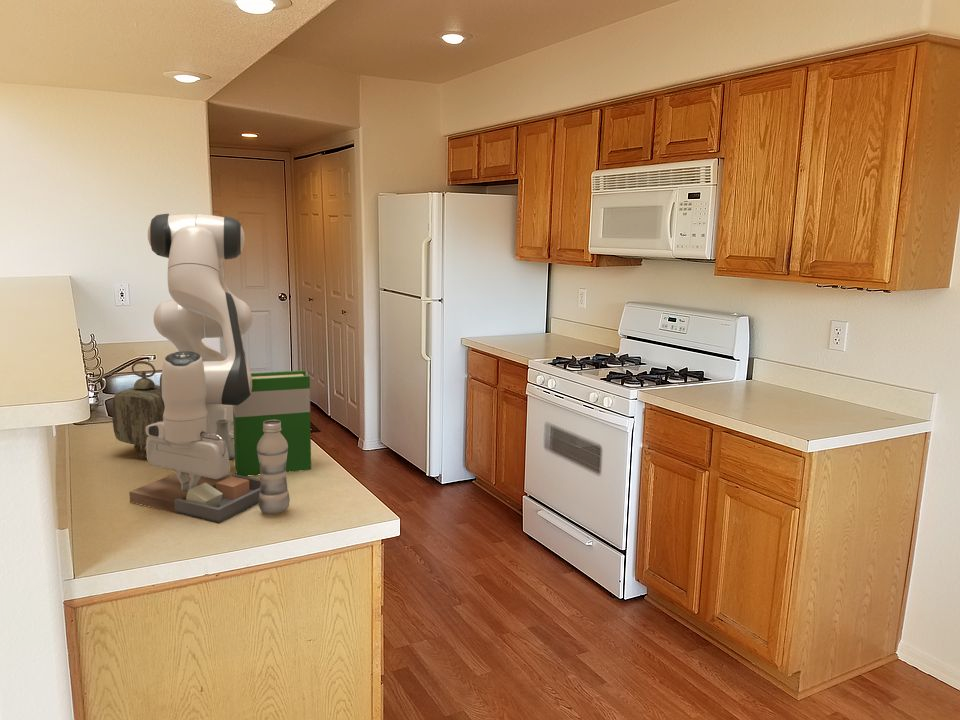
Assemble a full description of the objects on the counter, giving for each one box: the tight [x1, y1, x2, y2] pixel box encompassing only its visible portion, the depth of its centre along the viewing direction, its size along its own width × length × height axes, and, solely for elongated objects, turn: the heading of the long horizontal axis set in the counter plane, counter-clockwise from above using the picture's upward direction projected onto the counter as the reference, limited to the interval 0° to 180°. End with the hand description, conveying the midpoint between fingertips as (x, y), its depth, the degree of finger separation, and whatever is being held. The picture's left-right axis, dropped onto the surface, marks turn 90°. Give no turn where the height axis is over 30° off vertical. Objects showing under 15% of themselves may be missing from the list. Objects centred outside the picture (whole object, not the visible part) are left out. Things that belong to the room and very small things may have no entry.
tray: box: [174, 473, 261, 525], centre depth 161 cm, size 18×12×3 cm, turn 157°
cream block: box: [186, 483, 223, 507], centre depth 157 cm, size 5×5×3 cm
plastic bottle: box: [257, 420, 291, 515], centre depth 155 cm, size 6×7×20 cm
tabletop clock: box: [111, 360, 165, 459], centre depth 189 cm, size 14×9×25 cm, turn 75°
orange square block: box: [216, 476, 250, 500], centre depth 165 cm, size 5×5×3 cm
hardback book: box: [233, 370, 312, 477], centre depth 182 cm, size 18×7×24 cm, turn 112°
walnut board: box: [129, 472, 232, 514], centre depth 166 cm, size 18×13×2 cm
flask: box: [215, 419, 235, 461], centre depth 191 cm, size 7×7×10 cm
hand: (189, 490), depth 158 cm, fingers closed
